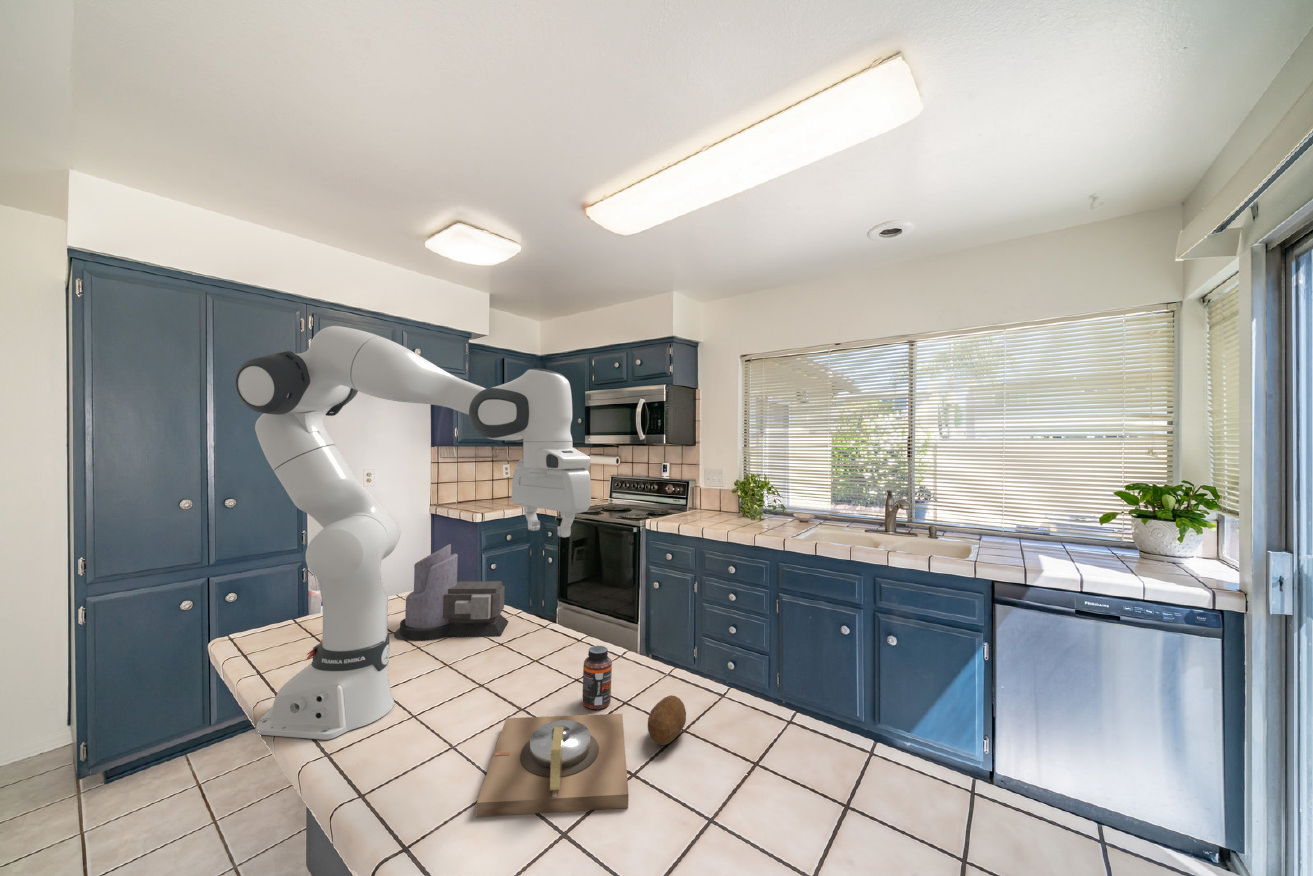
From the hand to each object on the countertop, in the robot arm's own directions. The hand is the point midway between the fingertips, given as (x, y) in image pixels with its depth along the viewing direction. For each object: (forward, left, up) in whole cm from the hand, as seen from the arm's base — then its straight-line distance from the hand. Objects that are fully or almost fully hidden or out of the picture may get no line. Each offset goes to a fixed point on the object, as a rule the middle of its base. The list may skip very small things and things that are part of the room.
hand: (548, 533), depth 90 cm
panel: (+4, -7, -38) cm, 39 cm away
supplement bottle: (+10, +12, -38) cm, 41 cm away
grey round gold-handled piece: (+4, -9, -35) cm, 37 cm away
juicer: (-32, +55, -38) cm, 75 cm away
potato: (+23, -1, -38) cm, 44 cm away
